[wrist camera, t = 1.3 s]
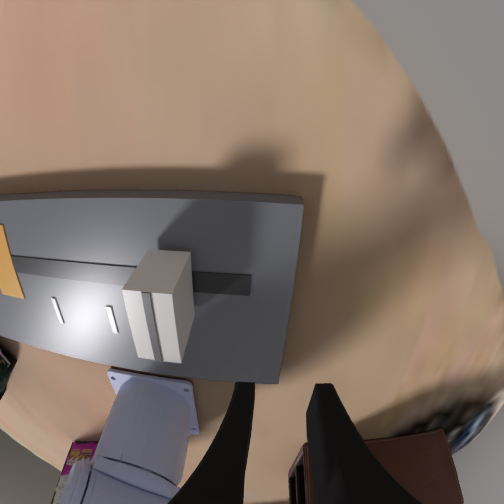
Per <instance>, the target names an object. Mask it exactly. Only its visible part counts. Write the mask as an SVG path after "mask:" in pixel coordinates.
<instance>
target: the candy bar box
mask: <svg viewBox="0 0 504 504" xmlns="http://www.w3.org/2000/svg"><path fill="white" fill-rule="evenodd" d="M98 443H99V442H72V445H71V448H70V450H69V453H68V456H67V458H66V461H65V464H64V467H63V470H62V472H61V475H60V478H59V482H58V484H57V487H56V490H55V493H54V496H53V499H52V502H51V504H59V500H60V497H61V494H62V491H63V488H64V485H65V482H66V480H67V477H68V475H69V473H70V470H71V468H72V466H73V465H74V463H75V462H76V461H81V460H82V459H86V460H88V461H91V460H92V459H93V457H94V454H95V451H96V448H97V445H98Z"/></svg>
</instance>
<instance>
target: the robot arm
mask: <svg viewBox="0 0 504 504" xmlns="http://www.w3.org/2000/svg"><path fill="white" fill-rule="evenodd" d="M107 374H108V377H109V379H110V381H111V384H112V386H113V388H114V391H115V393H116V395H117V396H116V398H115V401H114V403H113V406H112V408H111V411H110V413H109V416H108V419H107V421H106V424H105V426H104V429H103V432H102V435H101V437H100V440H99V443H98V445H97V448H96V451H95V454H94V457H93V459H92V460H91V461H88V460H86V459H82V460H81V461H76V462H75V463H74V465H73V466H72V468H71V470H70V473H69V475H68V477H67V480H66V482H65V485H64V488H63V491H62V494H61V497H60V500H59V504H243V498H244V478H245V470H246V464H247V458H248V451H249V445H250V438H251V430H252V420H253V410H254V400H255V382H239V381H238V382H236V383H235V387H234V392H233V395H232V399H231V402H230V405H229V407H228V410H227V413H226V415H225V417H224V419H223V422H222V424H221V426H220V428H219V430H218V432H217V434H216V436H215V438H214V440H213V442H212V443H211V445H210V447H209V449H208V451H207V452H206V454H205V456H204V457H203V459H202V460H201V462H200V463H199V465H198V466H197V468H196V469H195V471H194V472H193V473H192V475H191V476H190V477H189V479H188V480H187V481H186V483H185V484H184V485H183V486H182V488H179V487H177V485H178V484H179V483H180V481H181V479H182V475H183V470H184V464H185V459H186V453H187V447H188V442H189V437H190V434H191V435H199V433H200V429H199V423H198V418H197V412H196V406H195V399H194V393H193V386H192V383H191V382H189V381H186V380H179V379H171V378H164V377H157V376H151V375H144V374H139V373H133V372H127V371H122V370H117V369H111V368H110V369H108V371H107ZM306 425H307V440H308V447H309V454H310V461H311V468H312V475H313V482H314V504H422V503H421V502H420V501H418V500H417V499H416V498H415V497H414V496H412V495H411V494H410V493H409V492H408V491H407V490H406V489H405V488H404V487H403V486H402V485H400V484H399V483H398V482H397V481H396V480H395V479H394V478H393V477H392V476H391V474H390V473H389V472H388V471H387V470H386V469H385V468H384V467H383V465H382V464H381V463H380V462H379V460H378V459H377V458H376V457H375V455H374V454H373V453H372V451H371V450H370V449H369V447H368V446H367V444H366V443H365V441H364V440H363V438H362V437H361V435H360V434H359V432H358V430H357V429H356V427H355V425H354V424H353V422H352V421H351V419H350V417H349V415H348V414H347V412H346V410H345V408H344V406H343V404H342V402H341V400H340V398H339V396H338V394H337V392H336V390H335V388H334V386H333V384H331V383H324V384H315V387H314V390H313V394H312V397H311V400H310V403H309V406H308V409H307V412H306Z"/></svg>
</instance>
